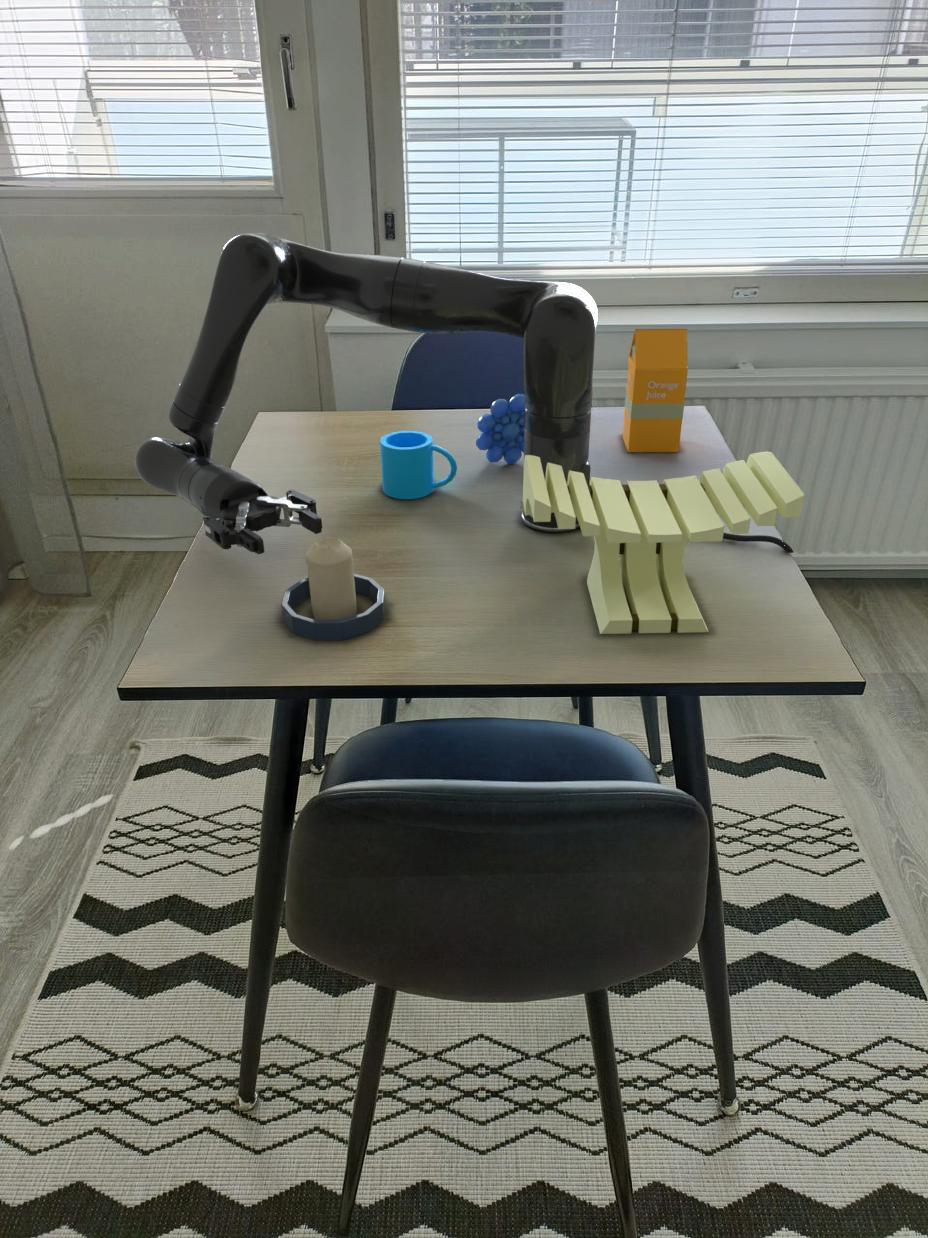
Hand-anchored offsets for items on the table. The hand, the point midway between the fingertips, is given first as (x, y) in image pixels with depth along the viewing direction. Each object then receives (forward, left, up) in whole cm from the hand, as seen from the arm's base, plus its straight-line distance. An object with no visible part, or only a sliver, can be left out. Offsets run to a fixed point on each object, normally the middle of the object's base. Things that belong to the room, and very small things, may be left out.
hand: (291, 536), depth 122 cm
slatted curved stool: (-45, +5, -8) cm, 46 cm away
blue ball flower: (-31, -42, -8) cm, 53 cm away
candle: (-6, +7, -8) cm, 12 cm away
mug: (-16, -31, -8) cm, 36 cm away
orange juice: (-56, -49, -8) cm, 75 cm away
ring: (-6, +7, -8) cm, 12 cm away
